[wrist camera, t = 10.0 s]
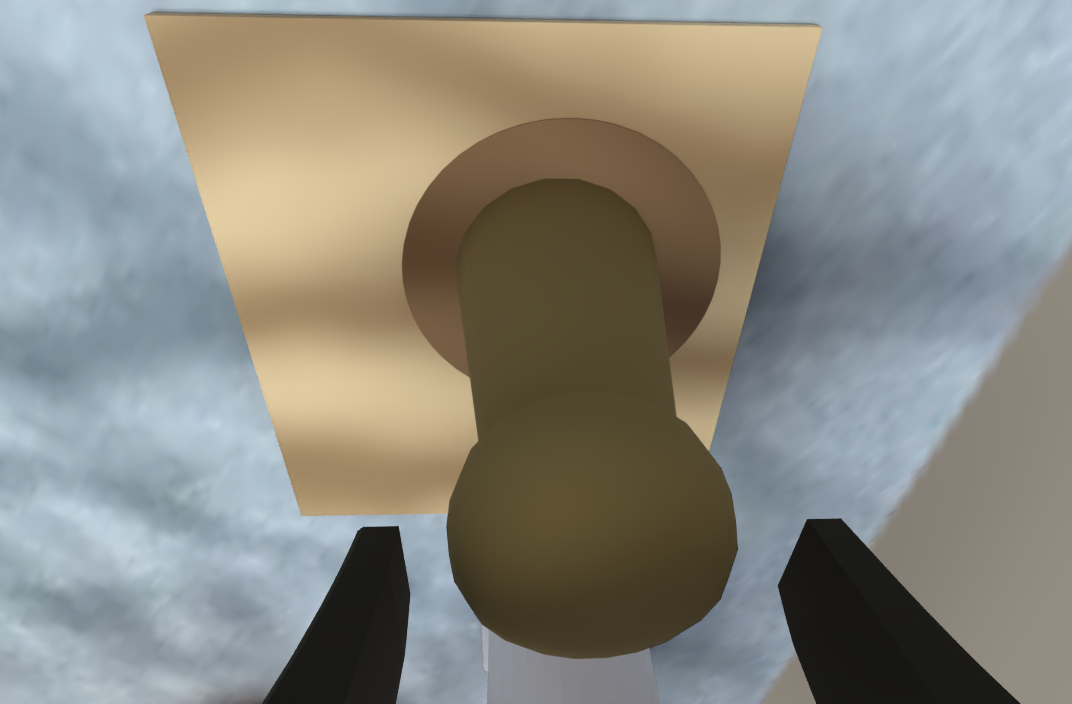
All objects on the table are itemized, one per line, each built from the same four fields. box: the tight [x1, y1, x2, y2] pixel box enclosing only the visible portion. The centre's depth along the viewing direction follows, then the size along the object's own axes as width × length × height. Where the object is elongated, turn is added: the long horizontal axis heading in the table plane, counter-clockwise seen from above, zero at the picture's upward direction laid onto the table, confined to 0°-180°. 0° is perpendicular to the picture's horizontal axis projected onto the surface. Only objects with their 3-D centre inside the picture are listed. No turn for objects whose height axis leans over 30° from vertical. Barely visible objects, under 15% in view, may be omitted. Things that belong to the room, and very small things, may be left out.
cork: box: [446, 178, 738, 659], centre depth 15 cm, size 6×6×11 cm
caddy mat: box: [144, 12, 823, 516], centre depth 20 cm, size 18×16×1 cm
